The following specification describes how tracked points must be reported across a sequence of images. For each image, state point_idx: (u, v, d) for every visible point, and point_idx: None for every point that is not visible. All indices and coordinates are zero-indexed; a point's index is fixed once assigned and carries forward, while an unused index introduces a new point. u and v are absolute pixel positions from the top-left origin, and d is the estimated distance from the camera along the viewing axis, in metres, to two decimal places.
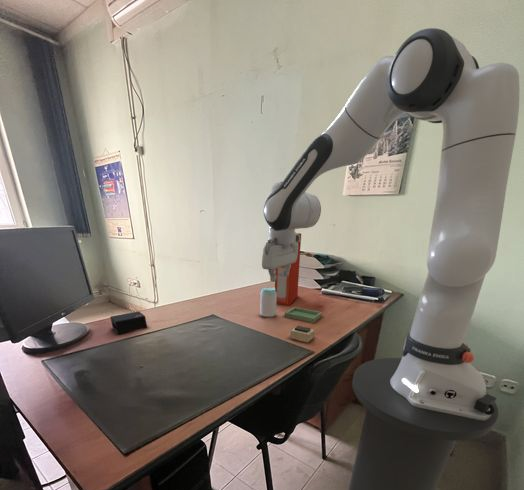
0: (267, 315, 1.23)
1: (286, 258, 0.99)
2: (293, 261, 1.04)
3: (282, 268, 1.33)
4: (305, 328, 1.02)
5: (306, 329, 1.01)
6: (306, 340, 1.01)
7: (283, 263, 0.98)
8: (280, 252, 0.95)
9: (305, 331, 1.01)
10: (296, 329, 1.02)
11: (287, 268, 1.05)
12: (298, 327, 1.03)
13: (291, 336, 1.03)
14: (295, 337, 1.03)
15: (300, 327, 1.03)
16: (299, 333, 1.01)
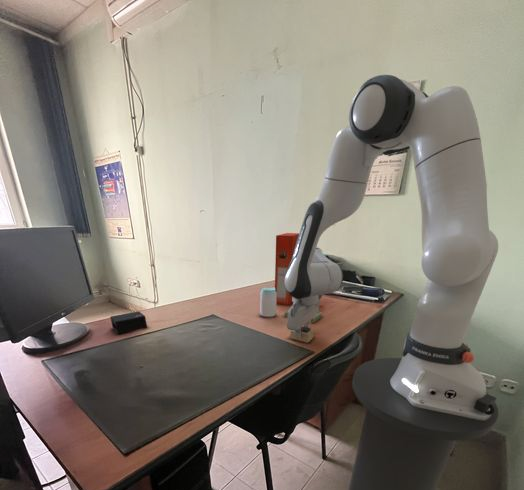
0: (267, 315, 1.23)
1: (309, 315, 1.01)
2: (315, 315, 1.06)
3: (282, 268, 1.33)
4: (305, 328, 1.02)
5: (306, 329, 1.01)
6: (306, 340, 1.01)
7: (306, 321, 0.99)
8: (304, 312, 0.96)
9: (305, 331, 1.01)
10: None
11: (307, 323, 1.05)
12: None
13: (291, 336, 1.03)
14: (295, 337, 1.03)
15: None
16: None
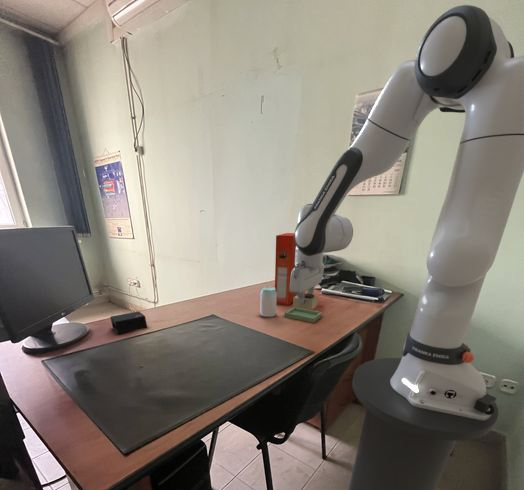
0: (267, 315, 1.23)
1: (313, 280, 0.95)
2: (319, 282, 1.01)
3: (282, 268, 1.33)
4: (309, 294, 0.97)
5: (310, 295, 0.96)
6: (310, 307, 0.95)
7: (310, 286, 0.94)
8: (308, 275, 0.91)
9: (309, 297, 0.95)
10: None
11: (311, 290, 1.00)
12: None
13: (294, 303, 0.98)
14: (298, 304, 0.97)
15: (304, 294, 0.98)
16: None
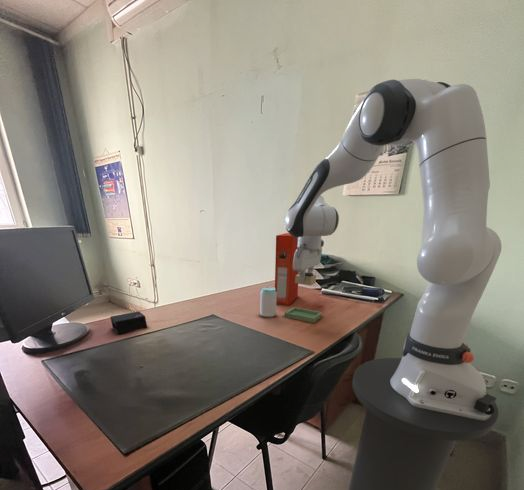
0: (267, 315, 1.23)
1: (312, 261, 1.13)
2: (317, 263, 1.18)
3: (282, 268, 1.33)
4: (308, 273, 1.15)
5: (309, 274, 1.14)
6: (309, 283, 1.13)
7: (310, 265, 1.12)
8: (308, 256, 1.09)
9: (308, 275, 1.13)
10: None
11: (310, 270, 1.18)
12: None
13: (296, 281, 1.16)
14: (299, 281, 1.15)
15: None
16: None
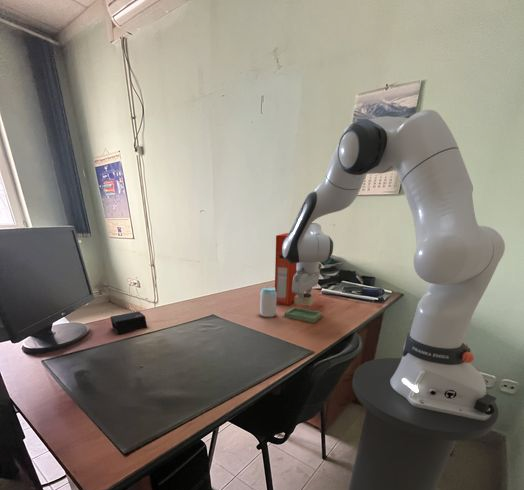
0: (267, 315, 1.23)
1: (310, 283, 1.19)
2: (315, 284, 1.24)
3: (282, 268, 1.33)
4: (307, 294, 1.21)
5: (308, 295, 1.20)
6: (308, 304, 1.19)
7: (308, 287, 1.18)
8: (306, 279, 1.15)
9: (307, 296, 1.19)
10: None
11: (309, 291, 1.24)
12: None
13: (295, 301, 1.22)
14: (298, 302, 1.21)
15: None
16: None
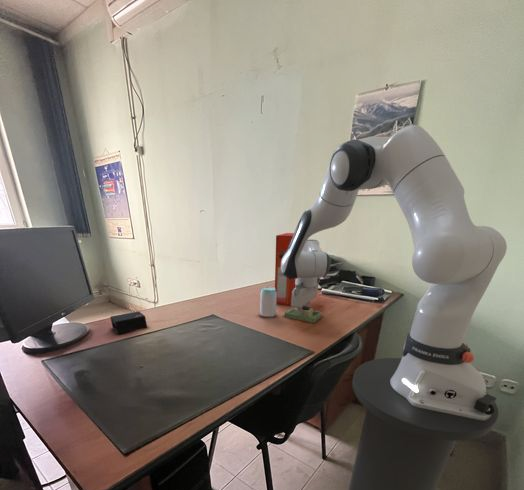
0: (267, 315, 1.23)
1: (309, 296, 1.22)
2: (314, 297, 1.27)
3: None
4: (306, 307, 1.23)
5: (306, 307, 1.22)
6: None
7: (307, 301, 1.20)
8: (305, 293, 1.17)
9: (306, 309, 1.22)
10: None
11: (307, 303, 1.26)
12: None
13: None
14: (297, 314, 1.24)
15: None
16: None
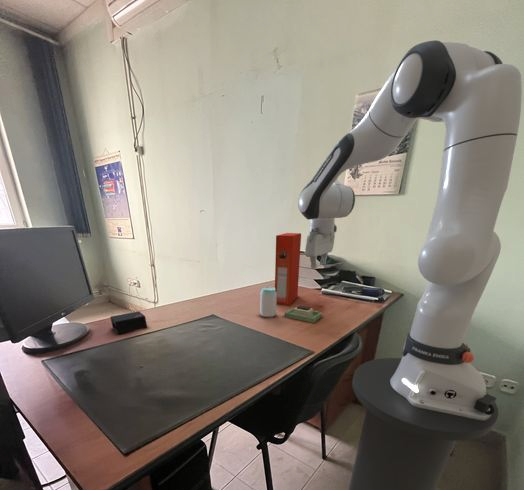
0: (267, 315, 1.23)
1: (325, 247, 1.07)
2: (330, 250, 1.12)
3: (282, 268, 1.33)
4: (306, 307, 1.23)
5: (306, 307, 1.22)
6: None
7: (323, 251, 1.06)
8: (321, 241, 1.03)
9: (306, 309, 1.22)
10: (298, 308, 1.23)
11: (324, 257, 1.13)
12: (300, 306, 1.24)
13: None
14: (297, 314, 1.24)
15: (302, 306, 1.24)
16: (301, 311, 1.22)
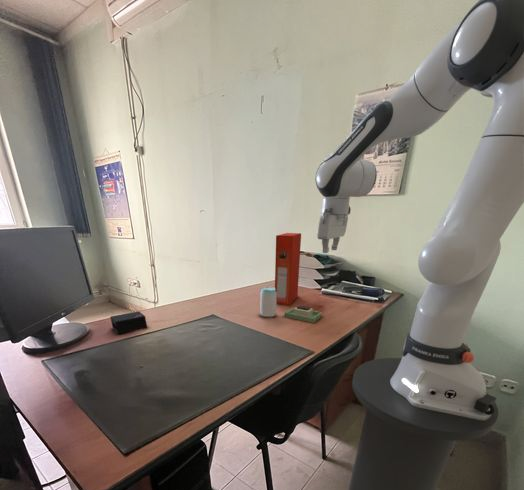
0: (267, 315, 1.23)
1: (338, 230, 0.99)
2: (342, 234, 1.04)
3: (282, 268, 1.33)
4: (306, 307, 1.23)
5: (306, 307, 1.22)
6: None
7: (335, 235, 0.98)
8: (334, 223, 0.95)
9: (306, 309, 1.22)
10: (298, 308, 1.23)
11: (336, 241, 1.05)
12: (300, 306, 1.24)
13: None
14: (297, 314, 1.24)
15: (302, 306, 1.24)
16: (301, 311, 1.22)
